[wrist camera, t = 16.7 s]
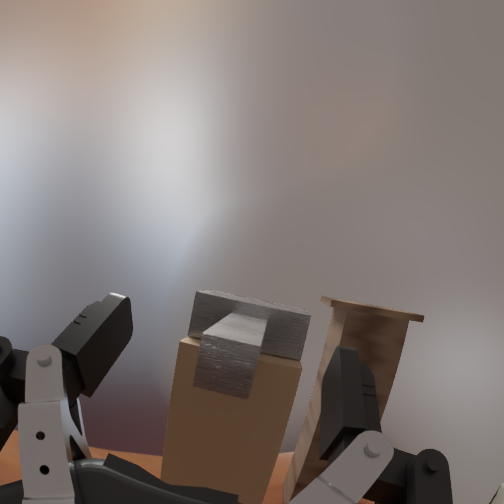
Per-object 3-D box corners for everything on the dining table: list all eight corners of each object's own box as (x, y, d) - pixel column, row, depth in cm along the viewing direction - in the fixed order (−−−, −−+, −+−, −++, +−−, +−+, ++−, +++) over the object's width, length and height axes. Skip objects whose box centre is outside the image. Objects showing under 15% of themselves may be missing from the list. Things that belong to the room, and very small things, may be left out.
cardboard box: (155, 538, 22) (180, 340, 24) (181, 488, 34) (210, 321, 36) (239, 560, 21) (302, 367, 23) (249, 504, 33) (294, 339, 35)
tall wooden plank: (269, 514, 31) (331, 299, 34) (271, 482, 40) (321, 295, 42) (349, 519, 30) (424, 315, 32) (340, 489, 39) (399, 309, 41)
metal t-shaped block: (133, 367, 15) (143, 297, 16) (203, 325, 32) (210, 289, 33) (314, 411, 14) (333, 339, 15) (296, 345, 31) (304, 308, 32)
